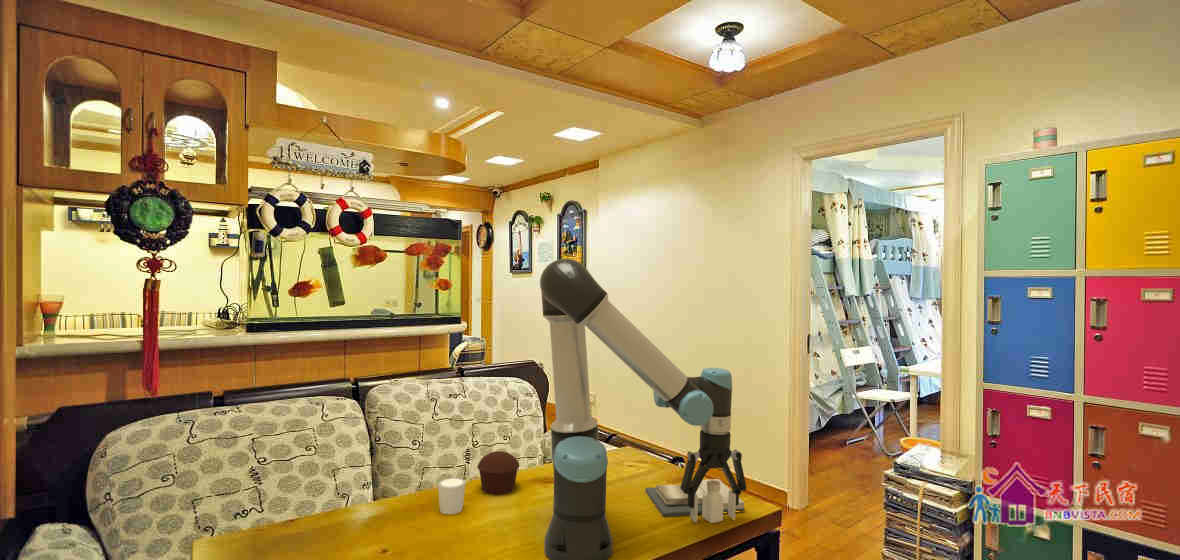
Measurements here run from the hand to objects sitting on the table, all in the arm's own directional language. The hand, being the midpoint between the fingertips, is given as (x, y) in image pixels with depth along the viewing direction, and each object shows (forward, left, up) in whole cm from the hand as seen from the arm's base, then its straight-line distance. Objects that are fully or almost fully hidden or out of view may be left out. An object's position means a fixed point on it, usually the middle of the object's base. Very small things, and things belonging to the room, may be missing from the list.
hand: (712, 518), depth 136 cm
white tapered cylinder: (-65, +14, 0) cm, 67 cm away
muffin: (-53, +26, 0) cm, 59 cm away
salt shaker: (0, 0, 0) cm, 0 cm away
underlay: (-1, +11, 0) cm, 11 cm away
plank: (-4, +11, +1) cm, 12 cm away
